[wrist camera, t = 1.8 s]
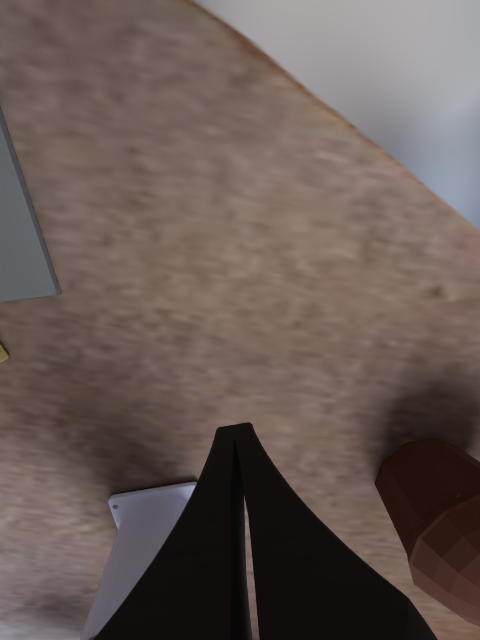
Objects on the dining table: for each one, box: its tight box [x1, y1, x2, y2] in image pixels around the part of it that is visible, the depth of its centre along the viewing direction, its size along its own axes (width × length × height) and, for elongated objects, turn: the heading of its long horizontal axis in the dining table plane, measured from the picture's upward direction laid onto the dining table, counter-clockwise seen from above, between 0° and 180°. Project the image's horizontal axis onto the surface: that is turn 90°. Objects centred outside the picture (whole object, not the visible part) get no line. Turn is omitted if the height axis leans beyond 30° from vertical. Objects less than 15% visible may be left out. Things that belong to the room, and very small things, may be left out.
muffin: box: [375, 438, 480, 626], centre depth 21 cm, size 12×11×10 cm
